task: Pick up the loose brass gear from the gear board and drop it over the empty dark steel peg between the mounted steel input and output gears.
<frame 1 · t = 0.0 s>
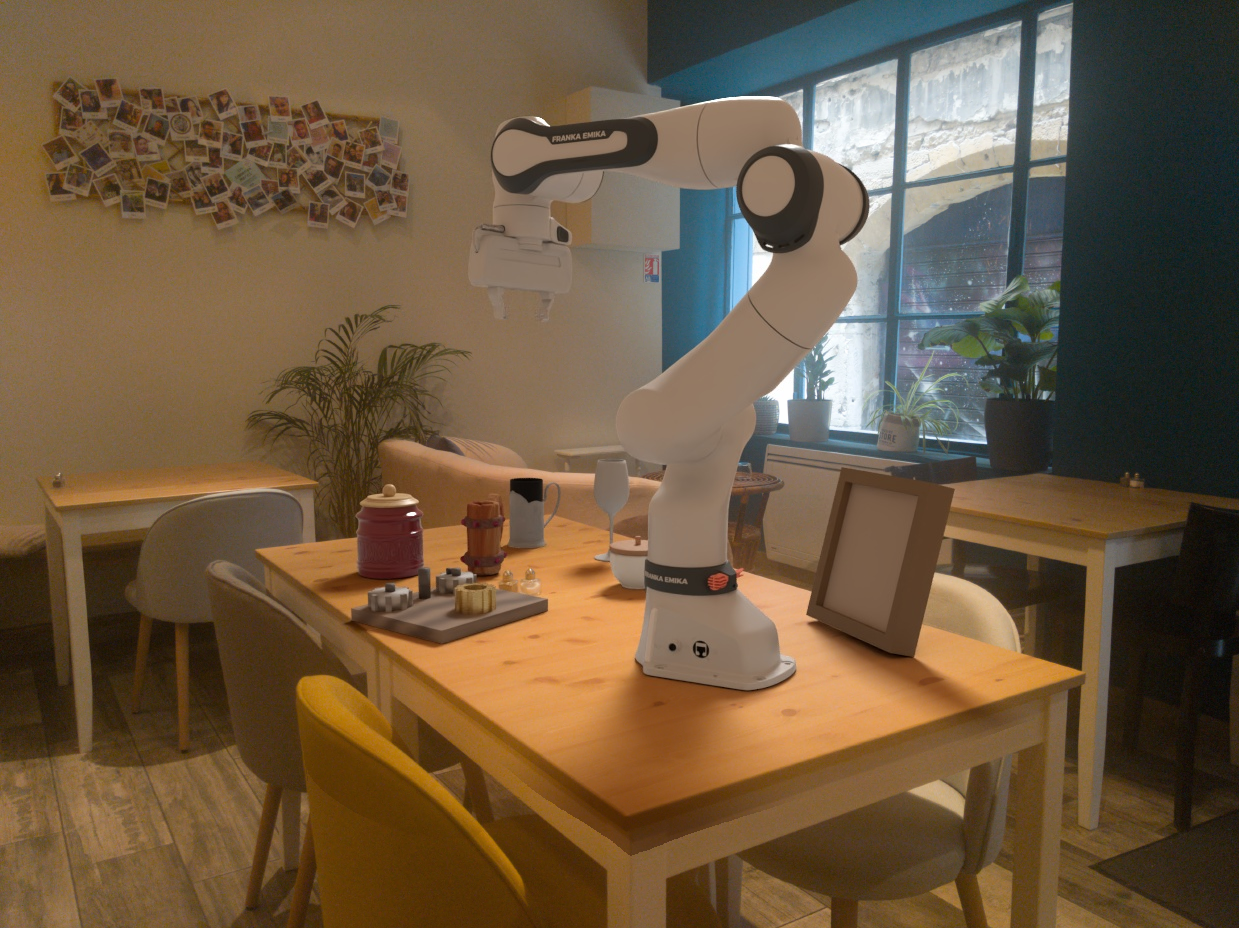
hand: (522, 320, 146), 48 cm above the table, fingers open, 8 cm apart
brass gear: (475, 608, 152), point 2 cm above the table, touching gear board
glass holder: (536, 543, 219), on the table
wineglass: (611, 559, 202), on the table
canister: (391, 573, 187), on the table
mug: (488, 571, 189), on the table
gear board: (451, 615, 155), on the table
lidded jar: (637, 586, 177), on the table
photo frame: (885, 635, 146), on the table
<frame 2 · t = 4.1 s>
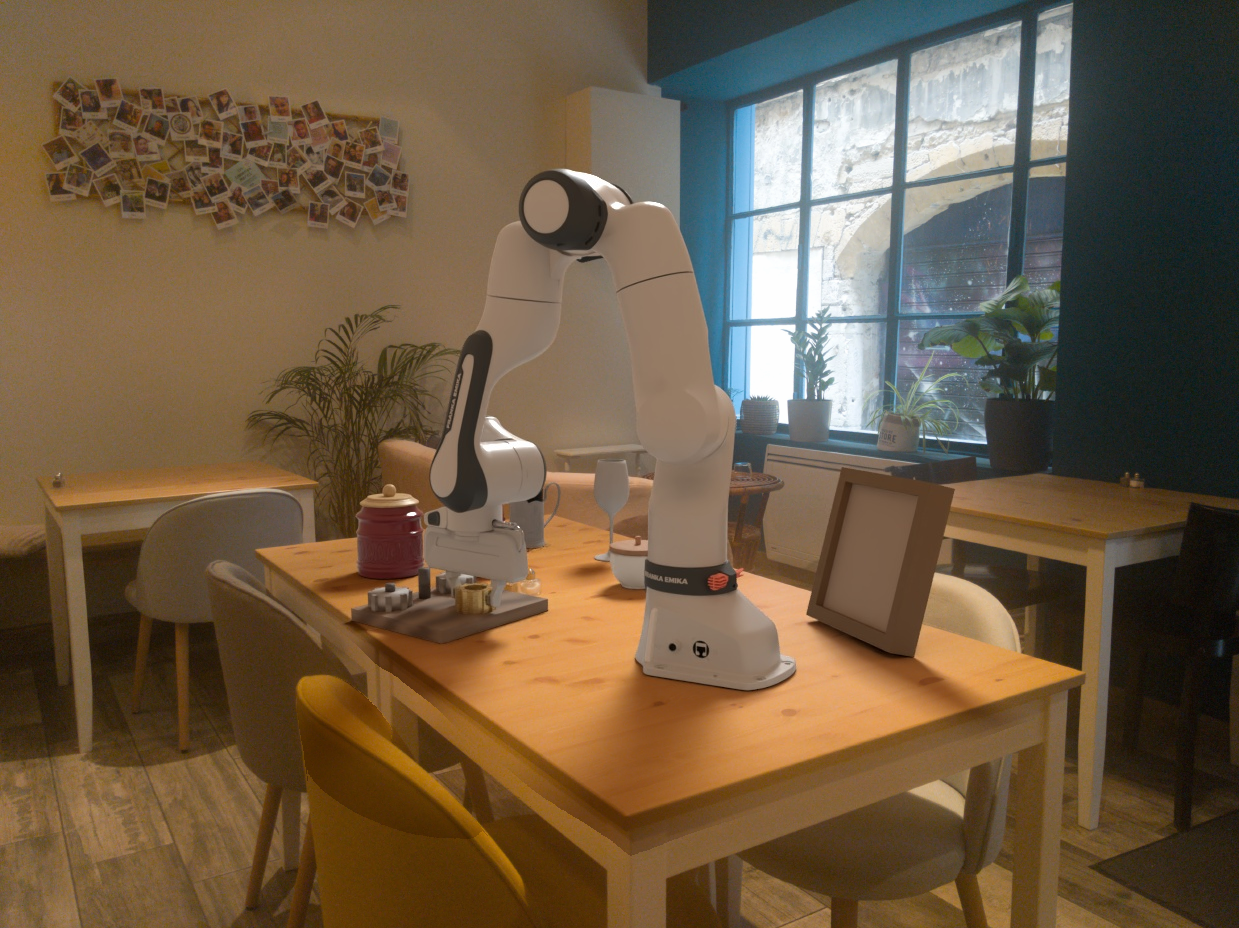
hand: (475, 602, 152), 3 cm above the table, fingers closed on brass gear, 6 cm apart
brass gear: (475, 608, 152), point 2 cm above the table, touching gear board, gripper
everything else where it was.
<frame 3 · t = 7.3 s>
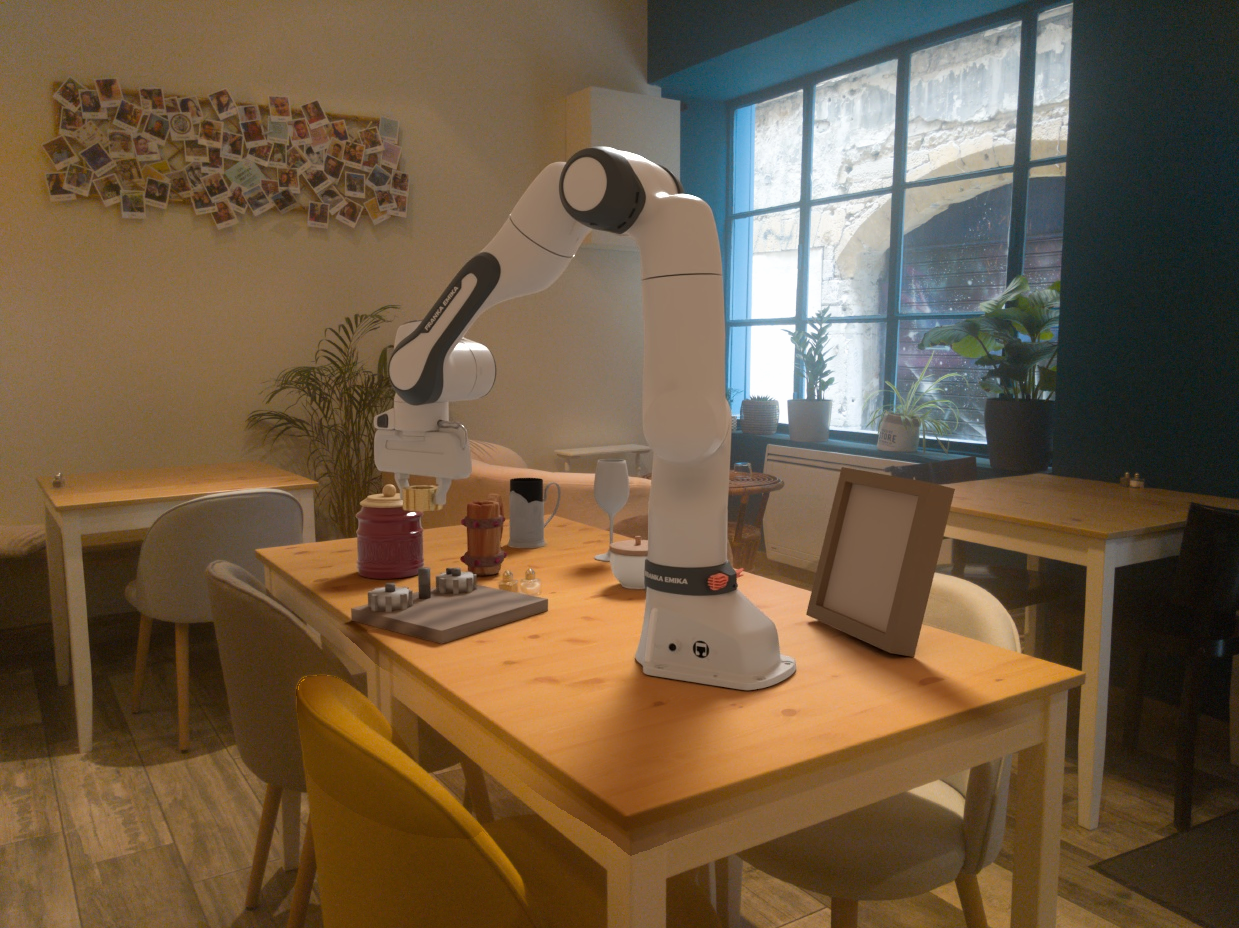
hand: (422, 502, 157), 18 cm above the table, fingers closed on brass gear, 6 cm apart
brass gear: (422, 508, 157), point 17 cm above the table, touching gripper
everything else where it was.
when the fingers open (5 cm above the table, at t = 10.9 s): brass gear drops 1 cm, resting on gear board.
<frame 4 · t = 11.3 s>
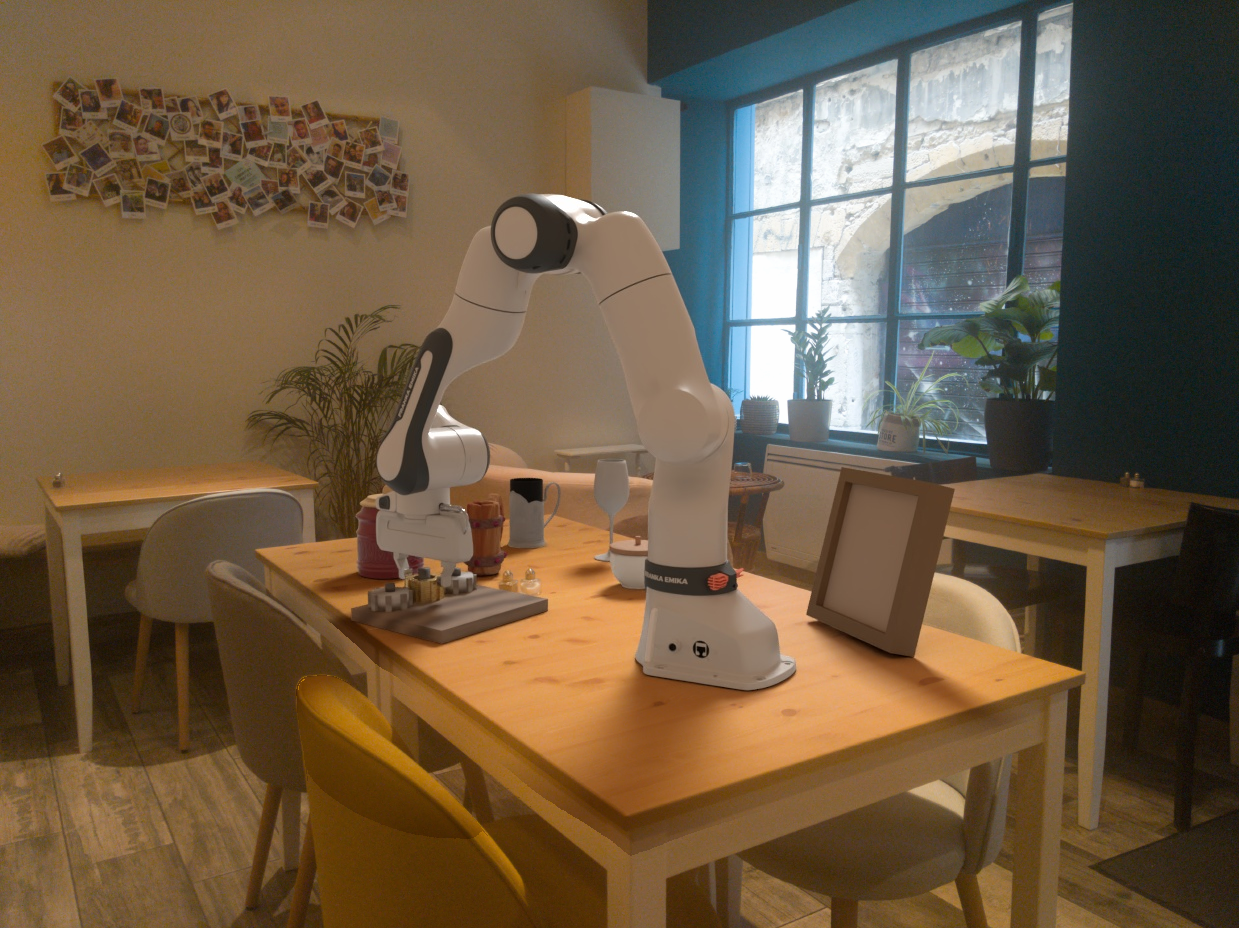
hand: (424, 582, 159), 5 cm above the table, fingers open, 8 cm apart
brass gear: (424, 597, 159), point 2 cm above the table, touching gear board
everything else where it was.
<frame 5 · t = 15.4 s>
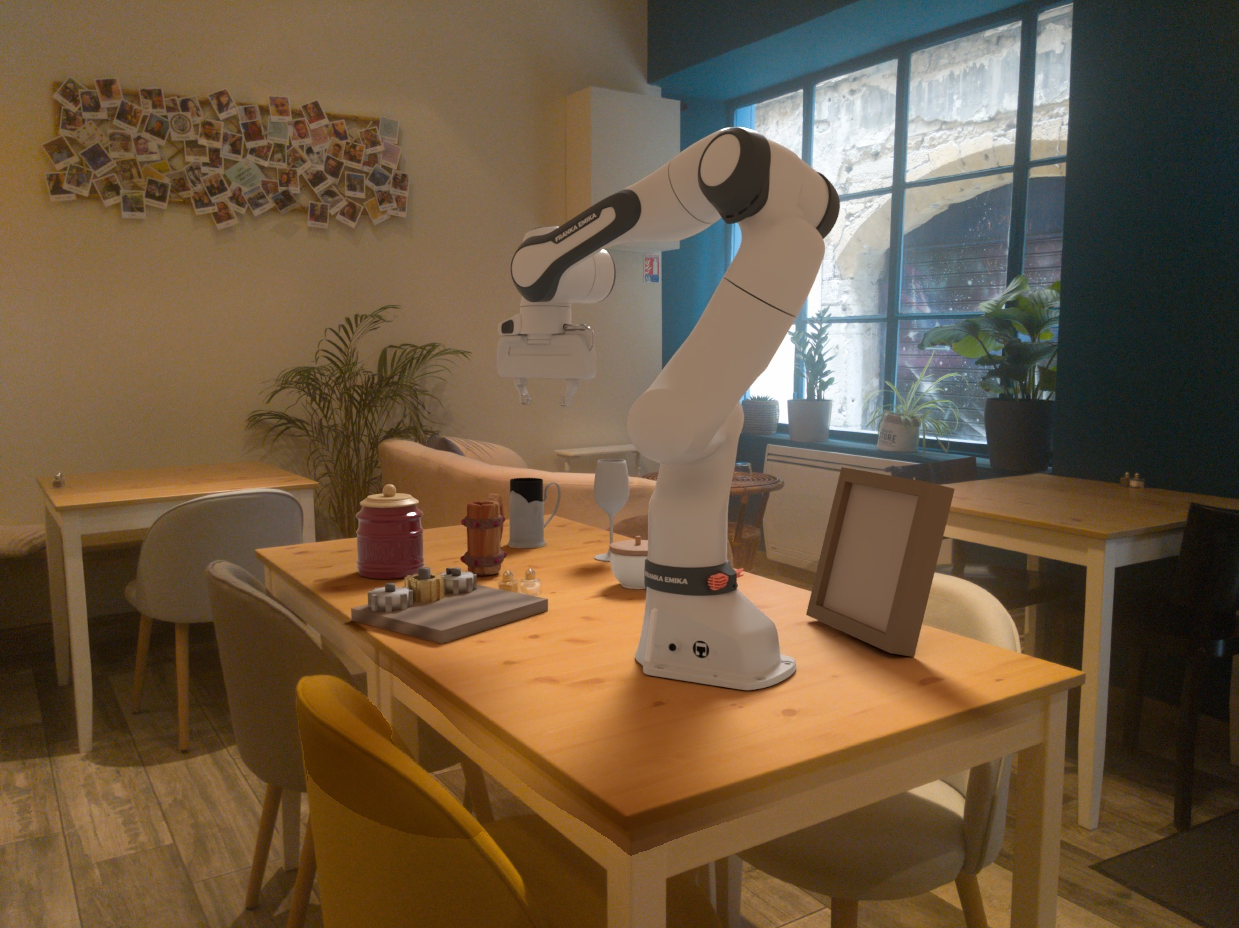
hand: (545, 405, 163), 34 cm above the table, fingers open, 8 cm apart
nothing on the table moved.
at the end: brass gear 0.0 cm from the target spot on the gear board, point 2.0 cm above the gear board's base; brass gear tilted 0°; the gripper is holding nothing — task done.
